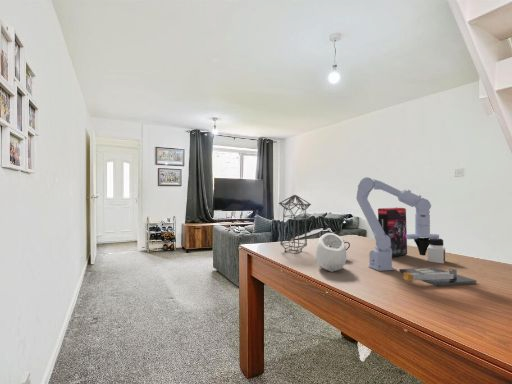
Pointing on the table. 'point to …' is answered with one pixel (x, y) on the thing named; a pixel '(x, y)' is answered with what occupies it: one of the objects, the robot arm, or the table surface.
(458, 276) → the panel
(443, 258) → the medicine bottle
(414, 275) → the cable arm
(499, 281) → the table surface
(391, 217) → the graphics card box
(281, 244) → the geometric lantern
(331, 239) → the skull planter
